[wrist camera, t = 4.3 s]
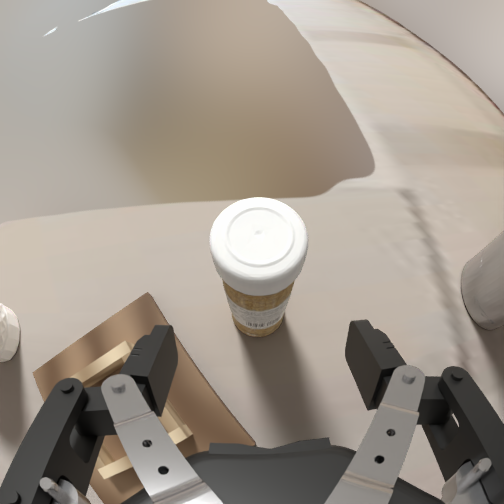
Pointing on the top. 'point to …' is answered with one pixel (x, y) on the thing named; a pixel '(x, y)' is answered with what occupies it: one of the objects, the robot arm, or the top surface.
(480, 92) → the top surface
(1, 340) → the white cup
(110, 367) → the holder board
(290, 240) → the sprinkles bottle
